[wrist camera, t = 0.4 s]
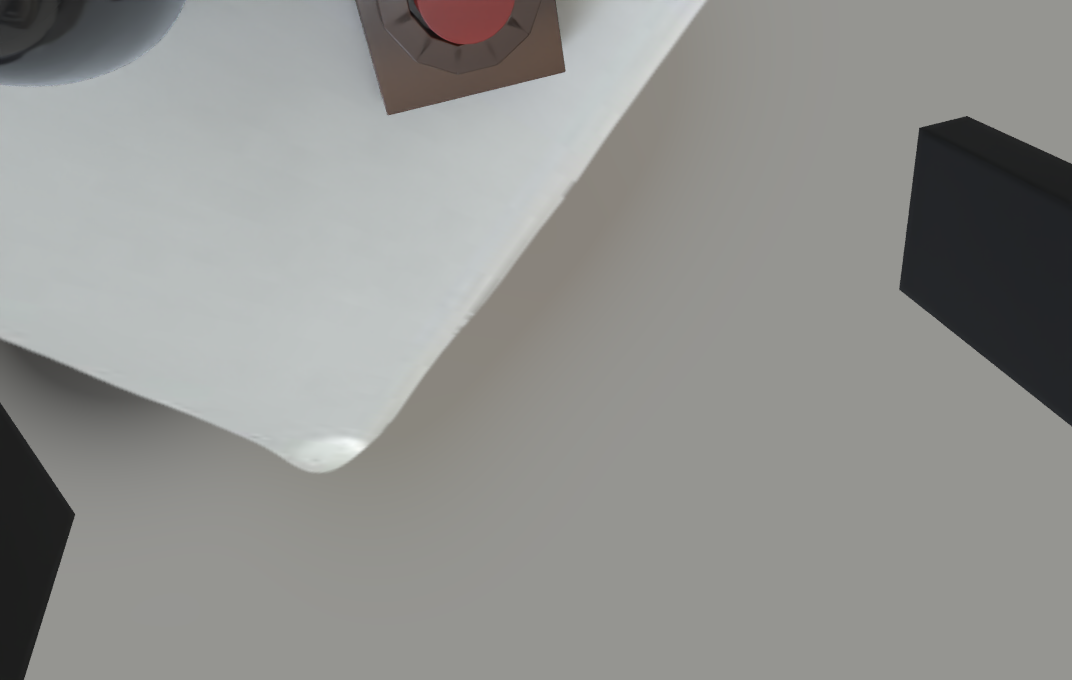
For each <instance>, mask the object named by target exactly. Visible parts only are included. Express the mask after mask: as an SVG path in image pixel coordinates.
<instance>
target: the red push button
mask: <svg viewBox="0 0 1072 680" xmlns="http://www.w3.org/2000/svg"><path fill="white" fill-rule="evenodd" d="M414 3H415V5H416V7H417V9H418V11H419V13H420V14H421V16H422V18H423V19H424V21H425V22H426V24H427V25H428V26H429V27H430V29H431V30H432V31H433V32H435V33H436V34H437V35H438V36H440V37H441V38H443V39H445V40H447V41H450V42H453V43H457V44H475V43H479V42H482V41H485V40H487V39H489V38H490V37H492V36H494V35H495V34H496V33H497V32H498V31H499V30H500V29H501V28H502V27H503V26H504V25H505V23H506V22H507V20H508V19H509V17H510V15H511V12H512V10H513V7H514V3H515V0H414Z"/></svg>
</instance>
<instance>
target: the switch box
mask: <svg viewBox="0 0 1072 680" xmlns="http://www.w3.org/2000/svg"><path fill="white" fill-rule="evenodd" d="M355 1H356V5H357V8H358V12H359V16H360V19H361V23H362V26H363V30H364V34H365V37H366V41H367V45H368V48H369V52H370V55H371V59H372V63H373V66H374V70H375V74H376V77H377V81H378V84H379V88H380V92H381V95H382V99H383V102H384V105H385V109H386V112H387V115H391V114H396V113H400V112H404V111H408V110H412V109H416V108H420V107H424V106H428V105H432V104H436V103H440V102H445V101H449V100H453V99H457V98H461V97H465V96H469V95H473V94H477V93H481V92H485V91H489V90H494V89H498V88H502V87H506V86H510V85H514V84H518V83H522V82H526V81H530V80H534V79H538V78H542V77H547V76H551V75H555V74H559V73H563V72H565V65H564V58H563V51H562V44H561V37H560V30H559V23H558V16H557V9H556V2H555V0H515V3H514V7H513V10H512V12H511V15H510V17H509V19H508V20H507V22H506V23H505V25H504V26H503V27H502V28H501V29H500V30H499V31H498V32H497V33H496V34H495V35H494V36H492V37H490V38H489V39H487V40H485V41H482V42H479V43H475V44H457V43H453V42H450V41H447V40H445V39H443V38H441V37H440V36H438V35H437V34H436V33H435V32H433V31H432V30H431V29H430V27H429V26H428V25H427V24H426V22H425V21H424V19H423V18H422V16H421V14H420V13H419V11H418V9H417V7H416V5H415V3H414V0H355Z"/></svg>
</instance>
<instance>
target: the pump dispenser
mask: <svg viewBox="0 0 1072 680" xmlns="http://www.w3.org/2000/svg"><path fill="white" fill-rule="evenodd" d="M185 2H186V0H0V85H6V86H30V87H31V86H53V85H62V84H69V83H75V82H80V81H84V80H88V79H91V78H95V77H98V76H101V75H104V74H106V73H109V72H112V71H114V70H116V69H118V68H121V67H123V66H125V65H127V64H129V63H131V62H133V61H134V60H136V59H138V58H139V57H141V56H142V55H144V54H145V53H146V52H148V51H149V50H150V49H151V48H153V47H154V46H155V45H156V44H157V43H158V42H159V41H160V40H161V39H162V38H163V37H164V36H165V35H166V33H167V32H168V31H169V30H170V28H171V27H172V26H173V24H174V23H175V21H176V20H177V18H178V16H179V14H180V13H181V11H182V8H183V6H184V4H185Z"/></svg>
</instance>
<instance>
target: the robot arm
mask: <svg viewBox="0 0 1072 680" xmlns="http://www.w3.org/2000/svg"><path fill="white" fill-rule="evenodd" d="M899 289H900V290H901V291H902V292H903V293H905V294H906V295H907V296H908V297H909V298H911V299H912V300H914V302H916V303H917V304H918V305H919V306H921V307H922V308H923V309H925V310H926V311H927V312H928V313H930V314H931V315H932V316H933V317H935V318H936V319H937V320H939V321H940V322H941V323H942V324H943V325H945V326H946V327H947V328H948V329H950V330H951V331H952V332H954V333H955V334H956V335H957V336H959V337H960V338H961V339H962V340H964V341H965V342H966V343H967V344H969V345H970V346H971V347H973V348H974V349H975V350H976V351H977V352H979V353H980V354H981V355H983V356H984V357H985V358H986V359H988V360H989V361H990V362H991V363H993V364H994V365H995V366H996V367H998V368H999V369H1000V370H1001V371H1003V372H1004V373H1005V374H1007V375H1008V376H1009V377H1011V378H1012V379H1013V380H1014V381H1015V382H1017V383H1018V384H1019V385H1020V386H1022V387H1023V388H1024V389H1025V390H1027V391H1028V392H1029V393H1030V394H1032V395H1033V396H1034V397H1036V398H1037V399H1038V400H1039V401H1041V402H1042V403H1043V404H1044V405H1046V406H1047V407H1048V408H1050V409H1051V410H1052V411H1053V412H1054V413H1056V414H1057V415H1058V416H1059V417H1061V418H1062V419H1063V420H1064V421H1066V422H1067V423H1068V424H1070V425H1071V426H1072V164H1071V163H1068V162H1066V161H1064V160H1062V159H1060V158H1058V157H1055V156H1053V155H1051V154H1049V153H1047V152H1044V151H1042V150H1040V149H1038V148H1036V147H1033V146H1031V145H1029V144H1027V143H1025V142H1022V141H1020V140H1018V139H1016V138H1014V137H1012V136H1009V135H1007V134H1005V133H1003V132H1001V131H998V130H996V129H994V128H992V127H990V126H987V125H985V124H983V123H981V122H979V121H976V120H974V119H972V118H970V117H968V116H966V117H962V118H958V119H954V120H950V121H946V122H942V123H938V124H934V125H929V126H925V127H922V128H919V136H918V143H917V152H916V159H915V167H914V176H913V183H912V192H911V200H910V208H909V216H908V224H907V232H906V241H905V248H904V256H903V265H902V272H901V280H900V288H899ZM74 516H75V513H74V512H73V510H72V509H71V508H70V506H69V505H68V503H67V501H66V500H65V498H64V497H63V496H62V494H61V492H60V491H59V490H58V488H57V487H56V485H55V484H54V482H53V481H52V479H51V478H50V476H49V475H48V473H47V472H46V470H45V469H44V467H43V466H42V464H41V463H40V461H39V460H38V458H37V457H36V455H35V454H34V452H33V451H32V449H31V448H30V446H29V445H28V444H27V442H26V440H25V439H24V438H23V436H22V435H21V433H20V431H19V430H18V428H17V427H16V425H15V424H14V423H13V421H12V420H11V418H10V417H9V415H8V414H7V412H6V411H5V409H4V408H3V406H2V405H1V403H0V680H24V677H25V674H26V671H27V668H28V665H29V661H30V658H31V654H32V651H33V648H34V645H35V642H36V639H37V635H38V632H39V629H40V626H41V623H42V619H43V616H44V613H45V610H46V607H47V603H48V600H49V597H50V594H51V591H52V587H53V584H54V581H55V578H56V574H57V571H58V568H59V565H60V562H61V558H62V555H63V552H64V549H65V545H66V542H67V539H68V536H69V532H70V529H71V526H72V522H73V520H74Z"/></svg>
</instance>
